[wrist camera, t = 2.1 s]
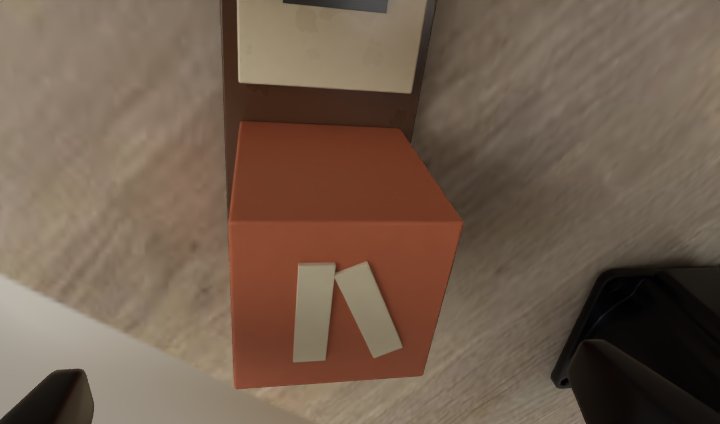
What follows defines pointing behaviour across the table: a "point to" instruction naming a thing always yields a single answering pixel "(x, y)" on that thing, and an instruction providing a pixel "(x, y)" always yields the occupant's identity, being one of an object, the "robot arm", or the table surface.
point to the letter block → (334, 255)
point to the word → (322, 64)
